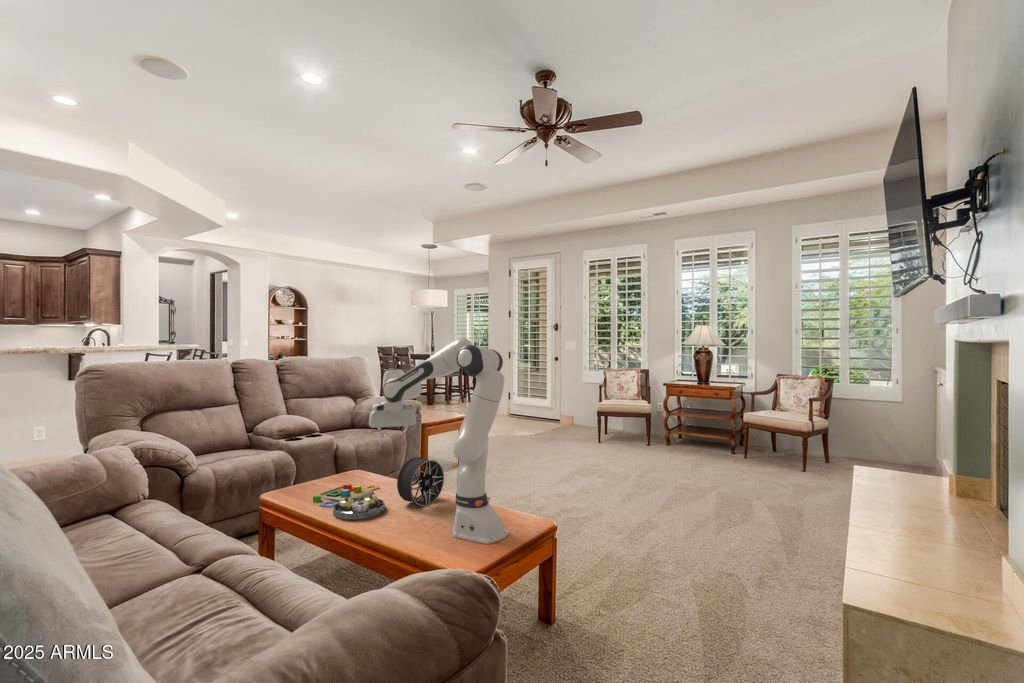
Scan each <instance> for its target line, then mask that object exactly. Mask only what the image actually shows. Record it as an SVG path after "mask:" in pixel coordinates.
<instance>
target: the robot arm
mask: <svg viewBox="0 0 1024 683" xmlns="http://www.w3.org/2000/svg"><path fill="white" fill-rule="evenodd" d="M503 364H504V360H503V356H502V354H500V353H499V351H497V350H495V349H491V348H487V347H485V346H482V345H474V344H473V342H471V341H470V339H468V338H465V337H461V338H458V339H456V340H454V341H452V342H450V343H448V344H446V345H445V346H443V347H442V348H441V349H439V350H438V351H437V352H435V353H434V354H432V355H431V356H430V357H428V358H427V359H425V360H424V361H423V362H421V363H420V364H417V365H416V366H414V367H413V368H411V369H410V370H408V371H406V372H404V371H403V369H401V368H394V369H393V368H392V369H387V370H386V371H384V374H383V378H382V394H383V395H382V401H380V402H377V403H374V404H372V405H371V406H372V410H371V411H370V414H369V419H368V425H369V427H370V428H371V429H375V428H376V429H377V431H378V432H379V438H380V439H381V438H384V437H385V433H384V432H382V431H381V430H382V428H393V427H403V428H404V430H403V431H401V437H406V436H407V434H406V433H407V431H408V429H409V427H410V426H416V424H417V417H416V414H417V406H415V405H414V404H404V401H408V400H412V399H416V398H418V397H420V395H421V394H422V390H423V387H422V382H424V381H426V380H430V379H435V378H441V377H443V378H444V377H447V376H449V375H451V374H455V372H457V371H459V370H462V371H463V372H465V373H466V374H467V375H468V376H469V377H470V378H473V377H475V379H476V383H475V386H474V389H473V391H472V392H473V393H472V395H471V398H470V401H469V404H468V408H467V411H466V413H465V416H464V418H463V421H462V423H461V426H460V428H459V431H458V433H457V435H456V438H455V440H454V441H455V442H454V444H453V450H452V452H453V455H454V456H455V458H456V459H457V460H458V467H457V472H456V493H455V506H456V507H455V513H454V521H453V525H452V529H451V531H452V537H454V538H457V539H463V540H465V541H466V540H467V541H470V542H475V543H480V544H485V545H488V544H493V543H496V542H499V541H500V540H503V539H504V538H506V537H507V536H508V535H509V530H508V529H506V528H504V527H503V519H502V518H501V516H500V514H499V513H498V512H497V511H496V510H495V509H494V508H493V507H492V506H491V505H490V502H489V501H491V496H489V497H488V496H487V495H488V494H487V493H486V492H487V491H486V471H487V462H488V461H487V460H488V449H489V434H490V431H491V429H492V426H493V424H494V423H495V420H496V419H495V418H496V416H497V413H498V409H499V406H500V403H501V400H502V397H503V396H502V395H503V393H504V386H505V376H504V374H503V373H502V372H500V371H501V370H502V368H503Z"/></svg>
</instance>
